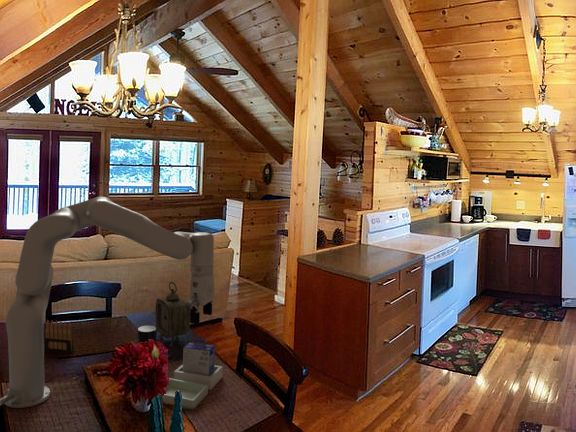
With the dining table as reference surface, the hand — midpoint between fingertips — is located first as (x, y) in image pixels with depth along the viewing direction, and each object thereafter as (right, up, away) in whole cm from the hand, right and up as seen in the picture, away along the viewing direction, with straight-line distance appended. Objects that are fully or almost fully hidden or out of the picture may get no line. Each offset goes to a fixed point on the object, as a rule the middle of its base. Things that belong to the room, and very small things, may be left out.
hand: (201, 318), depth 164 cm
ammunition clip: (-58, -17, +20) cm, 63 cm away
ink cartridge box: (-1, -22, +3) cm, 22 cm away
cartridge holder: (-1, -22, +3) cm, 22 cm away
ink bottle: (-23, -19, +17) cm, 34 cm away
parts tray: (-5, -23, -10) cm, 26 cm away
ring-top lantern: (-18, -17, +35) cm, 43 cm away
